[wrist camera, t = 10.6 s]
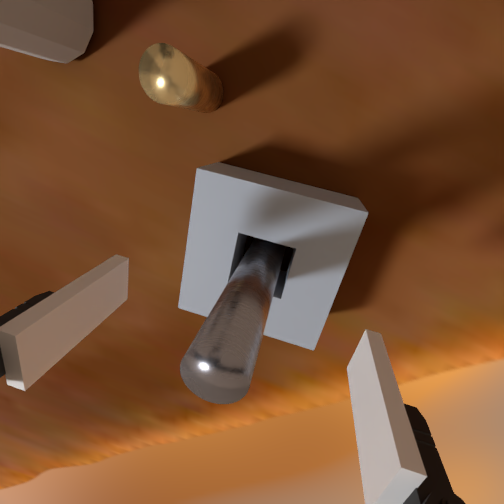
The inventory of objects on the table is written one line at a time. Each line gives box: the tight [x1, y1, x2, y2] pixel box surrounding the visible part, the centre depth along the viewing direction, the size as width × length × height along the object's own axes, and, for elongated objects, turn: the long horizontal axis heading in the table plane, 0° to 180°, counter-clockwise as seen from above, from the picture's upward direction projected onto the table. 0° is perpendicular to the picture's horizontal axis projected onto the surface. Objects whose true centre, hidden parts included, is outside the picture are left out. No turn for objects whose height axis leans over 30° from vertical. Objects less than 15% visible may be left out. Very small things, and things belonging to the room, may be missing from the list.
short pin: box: [139, 43, 224, 113], centre depth 20 cm, size 3×3×7 cm
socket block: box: [178, 162, 368, 350], centre depth 24 cm, size 12×12×5 cm
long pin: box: [180, 237, 286, 404], centre depth 19 cm, size 3×3×16 cm
